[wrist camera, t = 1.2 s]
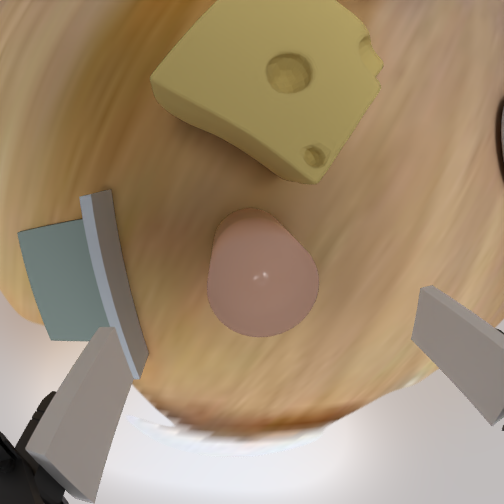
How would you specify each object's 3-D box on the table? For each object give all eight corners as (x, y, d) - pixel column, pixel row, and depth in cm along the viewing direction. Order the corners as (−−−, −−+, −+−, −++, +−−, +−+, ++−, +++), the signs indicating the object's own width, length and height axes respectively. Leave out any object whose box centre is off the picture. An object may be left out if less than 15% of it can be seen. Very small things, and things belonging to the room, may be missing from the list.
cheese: (346, 89, 20) (413, 54, 11) (277, 186, 22) (316, 201, 13) (246, 22, 18) (260, -48, 8) (169, 117, 20) (130, 83, 10)
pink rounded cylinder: (209, 212, 22) (199, 240, 14) (283, 205, 23) (318, 228, 14) (218, 282, 24) (215, 342, 16) (287, 274, 25) (318, 328, 16)
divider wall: (101, 191, 21) (79, 196, 17) (111, 189, 21) (90, 194, 17) (139, 353, 26) (130, 379, 22) (148, 353, 26) (139, 379, 22)
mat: (20, 231, 21) (17, 232, 20) (89, 217, 21) (87, 218, 21) (53, 337, 24) (51, 340, 24) (120, 337, 25) (119, 341, 24)
